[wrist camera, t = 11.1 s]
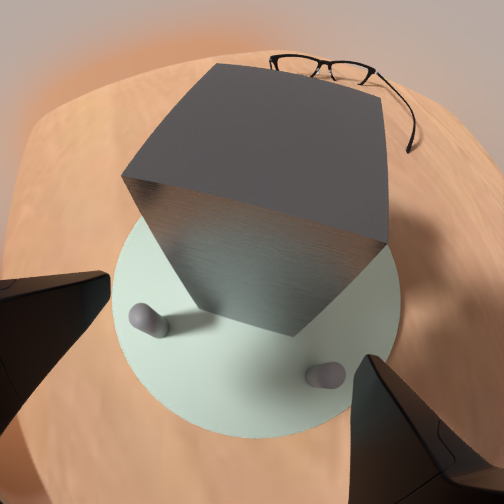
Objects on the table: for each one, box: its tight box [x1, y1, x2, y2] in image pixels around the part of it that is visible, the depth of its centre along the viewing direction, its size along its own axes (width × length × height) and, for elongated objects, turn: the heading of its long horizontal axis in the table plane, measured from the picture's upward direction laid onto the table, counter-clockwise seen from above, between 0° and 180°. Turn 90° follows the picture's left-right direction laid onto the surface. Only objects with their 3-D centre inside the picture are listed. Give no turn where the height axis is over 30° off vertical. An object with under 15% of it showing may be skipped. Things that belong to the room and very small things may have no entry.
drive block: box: [121, 63, 389, 337], centre depth 12 cm, size 6×6×12 cm
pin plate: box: [112, 216, 401, 439], centre depth 16 cm, size 20×20×4 cm
